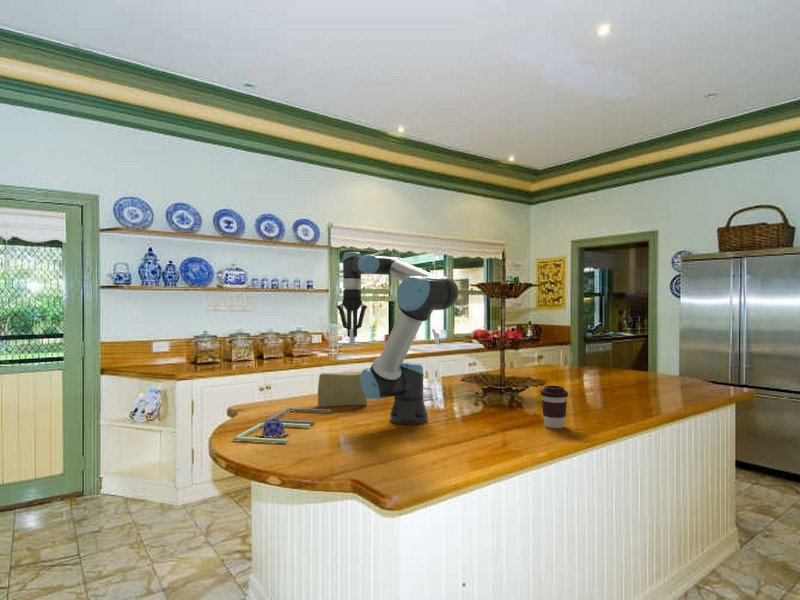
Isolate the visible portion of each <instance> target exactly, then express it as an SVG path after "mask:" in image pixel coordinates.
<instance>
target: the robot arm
mask: <svg viewBox="0 0 800 600" xmlns="http://www.w3.org/2000/svg"><path fill="white" fill-rule="evenodd" d="M342 256H343V260H342V274H343V275H342V278H343V279H342V283H343V284H342V285H343V286H342V287H343V291H342V302H341V303H340V304H338V305H337V306H336V308H337V309H338V311H339V315H340V319H341V323H342V328H343V329H346V330H347V338H349V345H350V346H355V345H356V338H357V337H358V329H360V328H362V326H363V322H364V316H365V312H366V310H367V309H368V305H366V304H364V303H363V301H362V289H361V288H362V275H384V276H385V275H386V276H390V277H391V278H393V279H396V280H398V281H400V284H399V285H398V288H397V289H396V295H397V296H396V302H397V304H398V306H397V308H398V310H399V313H398V316H397V318H396V321H395V323H394V324H393V327H392V329H391V331H390V334H389V336H388V338H387V340H386V343H385V344H384V347H383V349H382V352H381V354H380V356H379V357H378V358H375V359H374V360H373V361H372V364H371V366H370V367H369V368H364V369H363V370H361V371H362V373H361V376H360V382H361V387H362V390H363V393H364V394H365V396H366V397H367V399H369V400H379V399H385V398H391V397H394V398H393V399H394V401H393V405H392V408H391V411H390V414H389V415H390V416H389V420H390V421H391V422H392V423H395V424H399V425H419V424H424V423H427V421H428V419H429V418H428V417H429V416H428V411H427V408H426V405H425V402H424V375H425V374H424V367H423V365H422V364H421V363H416V362H410V361H405V358H406V356H407V355H408V352H409V350H410V349H411V345H412V344H413V342H414V340H415V338H416V335H417V334H418V331H419V330H420V327H421V326H422V324H423V322H426V321H428V320H429V319H430V317H431V315H432V313H433V311H444V310H448V309H450V308H452V307H453V306H454V305H455V304H456V303H457V301H458V298H459V295H460V293H459V287H458V285H457V283H456V281H455V280H453V279H452V278H449V277H447V276H445V275H442V274H436V275H435V274H433V273H431V272H428V271H426V270H423V269H421V268H418V267H416V266H414V265H411V264H409V263H407V262H405V261H404V258H401V257H397V256H392V257H391V256H379V255H374V254H364V255H362V254H361V253H360V252H358V251H357V252H356V251H346V252H344V254H343V255H342ZM344 308H345V310H346V314H345V310H344ZM359 309H360V313H359V317H358V310H359Z"/></svg>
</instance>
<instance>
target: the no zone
mask: <svg viewBox="0 0 800 600" xmlns="http://www.w3.org/2000/svg"><path fill="white" fill-rule="evenodd" d="M290 410H295V411H309V412H308V413H311V412H324V413H323V414H331V413H332V409H326V408H325V409H324V408H300V407H298V408H297V407H296V408H295V407H288V408H286V409H284V410H282V411H280V412H279V413H277V414H275V415H272V416H271V417H269V418H267V419H266V420H265V422H266V421H267V420H271V419H275V418H277V417H279V416H281V415H283V414H284V413H286V412H288V411H290ZM330 412H331V413H330ZM283 416H284V415H283ZM280 420H281V421H282V422H283V423H299V424H310V426H315V425H316V424H315V420H298V419H297V420H296V419H294V420H293V419H280Z"/></svg>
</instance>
